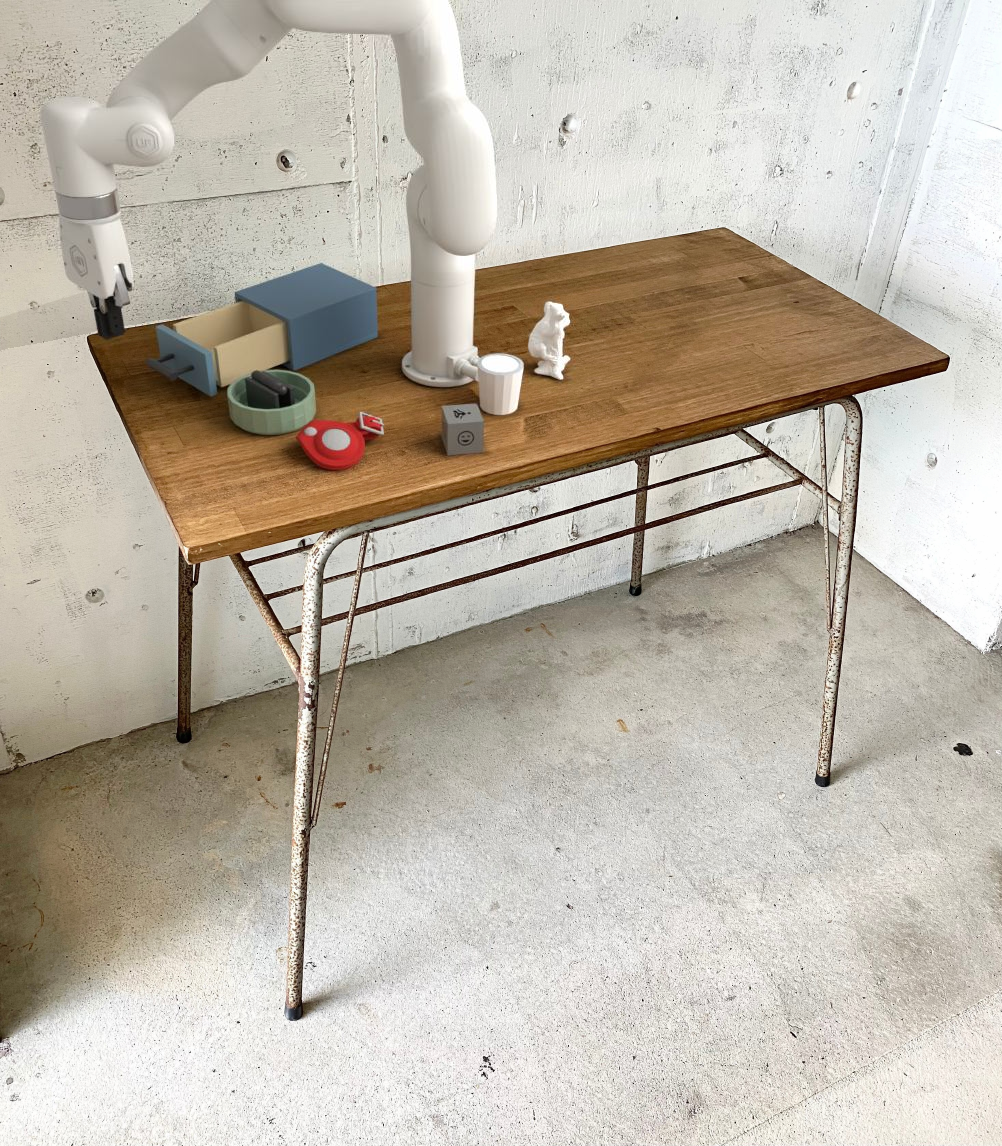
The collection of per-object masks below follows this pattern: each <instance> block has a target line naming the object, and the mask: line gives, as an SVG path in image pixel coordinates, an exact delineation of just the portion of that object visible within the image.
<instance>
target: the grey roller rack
mask: <svg viewBox="0 0 1002 1146" xmlns="http://www.w3.org/2000/svg"><path fill="white" fill-rule="evenodd" d="M251 378H252V379H251ZM251 378H249V377H247V378H245V385H246V393H247V402H248V407H251V408H257V409H279V408H284V407H288V406H292V405H294V404H295V399H294V388H293V387H292V386H290V385H288V384H287V383H285V382H283V381H281V380H279V379H278V378H276V377H274V376H272V375H270V374H268V373H267V372H265V371H262V372H260V371H258V370H255V371H253V372H252V373H251Z"/></svg>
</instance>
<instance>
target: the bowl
mask: <svg viewBox="0 0 1002 1146" xmlns="http://www.w3.org/2000/svg"><path fill="white" fill-rule="evenodd" d="M263 371H265V372H267V373H268V374H270V375H272V376H274V377H276V378H278V379H279V380H281V381H283V382H285V383H287V384H288V385H290V386H292V387H293V388H294V399H295V404H294V405H292V406H288V407H284V408H279V409H257V408H251V407H248V402H247V393H246V385H245V378H247V377H249V378H251V373H249V374H247V375H244V376H242V377H239V378H238V379H236V380H235V381H234V382H232V383H231V384H229V385H228V387H227V391H226V392H227V395H226V396H227V404H228V411H229V418H230V419H231V421H232V422H233V424H234V425H235V426H237V427H238V428H241V429H242V430H244V431H246V432H248V433H252V434H255V435H262V436H278V435H284V434H285V435H286V434H291V433H292V432H296V431H299V430H301V429H303V428H304V426H305V425H306V424H308V423H309V422H311V421H313V420H314V418H315V415H316V413H317V407H316V406H317V405H316V404H317V402H316V390H315V384H314V383H313V381H312V380H311V379H310V378H309V377H307V376H305V375H303V374H301V373H299V372H296V371H292V370H283V369H267V370H263ZM260 372H262V371H260ZM251 379H252V378H251Z"/></svg>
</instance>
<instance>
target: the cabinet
mask: <svg viewBox="0 0 1002 1146" xmlns="http://www.w3.org/2000/svg"><path fill="white" fill-rule="evenodd" d="M377 293H378V292H377V287H375V286H374V285H372V284H369V283H368V282H367V283H366V282H365V281H362V280H360V279H358V278H356V277H353V276H352V275H349V274H347V273H345V272H342V271H341V270H339V269H336V268H333V267H332V266H329V265H327V264H325V263H323V262H320V263H316V264H314V265H311V266H308V267H305V268H302V269H299V270H296V271H293V272H289V273H286V274H284V275H281V276H278V277H275V278H272V279H269V280H266V281H263V282H261V283H257V284H254V285H252V286H249V287H245V288H242V289H240V290H236V291H234V301H235V302H234V303H237V302H239V301H242V300H243V301H245V302H247V303H249V304H251V305H252V306H254V307H256V308H258V309H260V310H262V311H264V312H266V313H268V314H270V315H272V316H274V317H276V318H278V319H280V320H282V321H284V322H286V323H287V334H288V345H289V357H290V361H287V362H285V363H282V364H280V365H281V366H283V367H286V368H287V369H289V370H290V371H292V372H296V371H297V370H300V369H302V368H305V367H308V366H310V365H313V364H316V363H317V362H320V361H322V360H325V359H327V358H329V357H332V356H334V355H335V356H336V355H337V354H339V353H342V352H344V351H347V350H349V349H352V348H354V347H358V346H359V345H362V344H364V343H367V342H369V341H372V340H374V339H376V338H378V337H379V334H378V333H379V329H378V328H379V326H378V295H377Z"/></svg>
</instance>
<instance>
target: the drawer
mask: <svg viewBox="0 0 1002 1146" xmlns="http://www.w3.org/2000/svg"><path fill="white" fill-rule="evenodd" d="M172 328H173V329H171V328H170V327H168V326H166V325H164V324H163V323H162V324H159V325H156V326H155V331H156V337H157V342H158V343H157V345H158V350H159V356H160V357H158V358H153V357H148V358H147V360H146V362H145V364H146V366H147V367H148V368H150V369H152V370H153V371H155V372H156V373H158V374H159V375H162V376H163V377H165V378H166V379H168V380H170V381H172V382H174V381H176V380H177V379H178V378H179V379H181V380H182V381H184V382H186V384H189V385H191V386H192V387H194V388H195V389H197V390H199V391H200V392H202V393H204V394H206V395H207V396H209V397H213V396H217V395H218V389H217V388H218V387H217V386H219V387H220V388H224V387H226V386H230V385H231V383H232V382H234V381H235V380H236V379H238V378H239V377H242V376H244V375H247V374H249V373H252V372H253V371H255V370H258V371H263V370H270V369H272V368H274V367H277V366H279V365H281V364H282V363H285V362H287V361H290V357H289V345H288V334H287V323H286V322H284V321H282V320H280V319H278V318H276V317H274V316H272V315H270V314H268V313H266V312H264V311H262V310H260V309H258V308H256V307H254V306H252V305H251V304H249V303H247V302H245V301H243V300H242V301H239V302H237V303H236V302H233V303H231V304H228V305H225V306H222V307H218V308H217V309H213V310H210V311H207V312H205V313H202V314H199V315H196V316H193V317H191V318H187V319H185V320H181V321H179V322H176V323H173V324H172Z"/></svg>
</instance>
